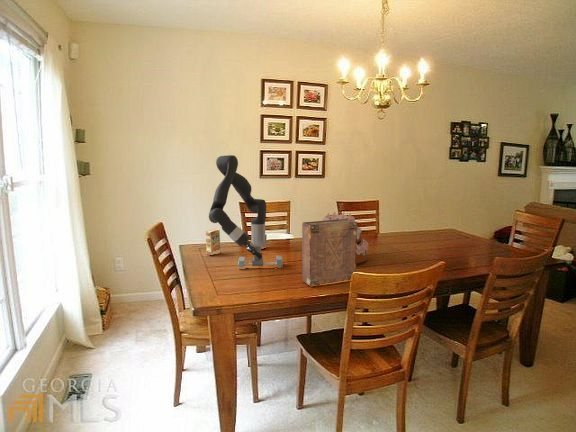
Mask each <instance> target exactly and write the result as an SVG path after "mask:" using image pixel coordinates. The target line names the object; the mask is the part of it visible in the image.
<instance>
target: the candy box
mask: <svg viewBox="0 0 576 432" xmlns="http://www.w3.org/2000/svg"><path fill="white" fill-rule="evenodd" d="M205 243H206V244H205V246H206V252H207V251H208V252H213V251H216V250H219V249H220V250H221V231H220V229H219V228H216V229H215V228H214V229H211V230H207V231H205Z"/></svg>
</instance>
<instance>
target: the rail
mask: <svg viewBox="0 0 576 432" xmlns="http://www.w3.org/2000/svg"><path fill="white" fill-rule="evenodd" d="M245 258H246V257H245V256H239V257H238V260H237V261H238V262H237V264H238V268H239V267H244V266H245V265H252V262H246V261H245ZM276 264H277V267H281V266H282V267H283V264H284V261H283V258H282V255H275V261H273V262H270V261H269V262H263V265H276Z"/></svg>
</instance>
